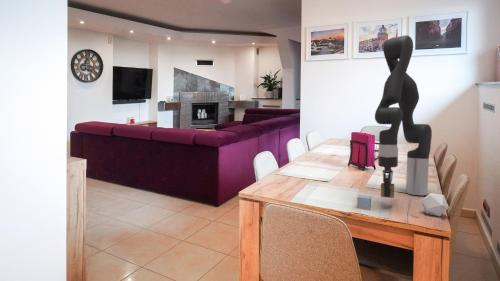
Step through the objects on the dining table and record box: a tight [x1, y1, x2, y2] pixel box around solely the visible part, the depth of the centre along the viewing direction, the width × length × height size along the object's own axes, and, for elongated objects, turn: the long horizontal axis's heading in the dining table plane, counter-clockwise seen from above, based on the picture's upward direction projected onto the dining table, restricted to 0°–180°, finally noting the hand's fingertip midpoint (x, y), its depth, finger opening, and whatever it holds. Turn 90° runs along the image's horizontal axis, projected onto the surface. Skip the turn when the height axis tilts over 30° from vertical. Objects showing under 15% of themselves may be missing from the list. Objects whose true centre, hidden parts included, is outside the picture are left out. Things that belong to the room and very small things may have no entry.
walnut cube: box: [380, 182, 395, 199], centre depth 135 cm, size 5×5×5 cm
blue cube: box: [356, 194, 372, 211], centre depth 135 cm, size 5×5×5 cm
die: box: [420, 192, 450, 217], centre depth 127 cm, size 8×9×10 cm
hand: (387, 194), depth 135 cm, fingers closed on walnut cube, 5 cm apart
